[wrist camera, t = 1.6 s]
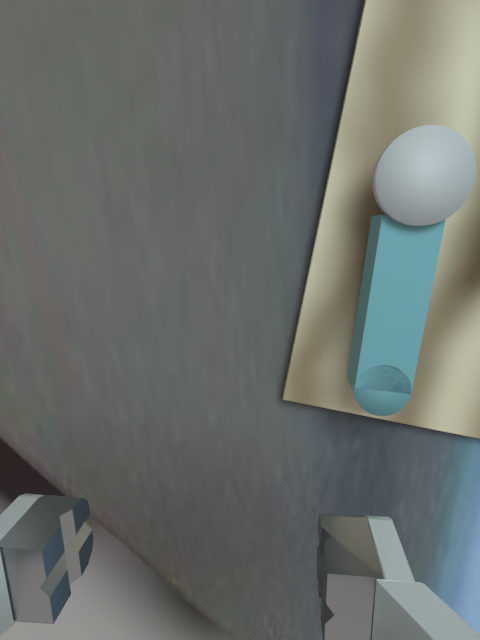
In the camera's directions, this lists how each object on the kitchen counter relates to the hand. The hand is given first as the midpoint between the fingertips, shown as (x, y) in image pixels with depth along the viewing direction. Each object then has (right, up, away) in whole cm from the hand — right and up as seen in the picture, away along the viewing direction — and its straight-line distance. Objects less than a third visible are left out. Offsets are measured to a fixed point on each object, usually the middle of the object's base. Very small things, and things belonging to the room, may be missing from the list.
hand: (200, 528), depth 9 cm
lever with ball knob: (+9, +7, +13) cm, 18 cm away
